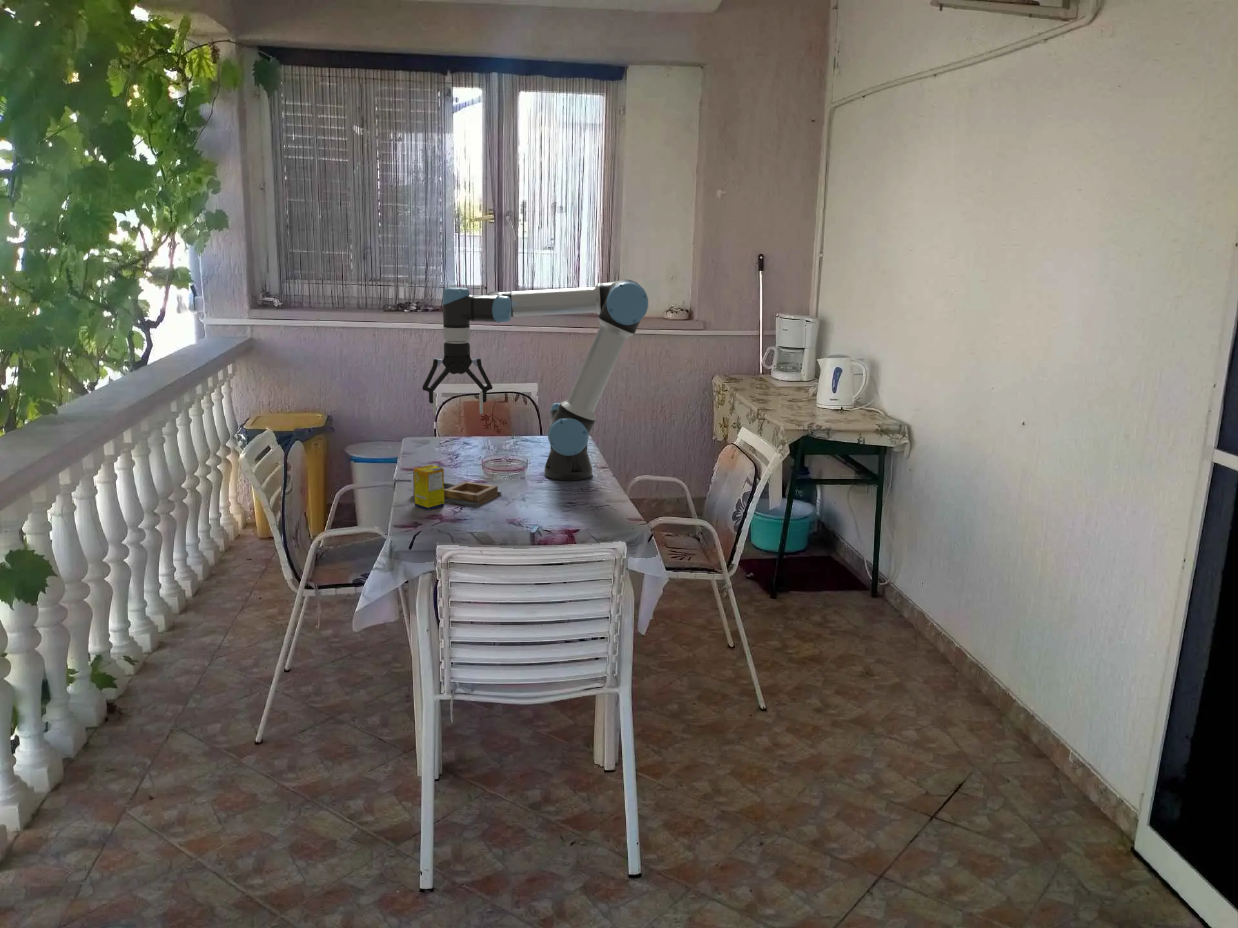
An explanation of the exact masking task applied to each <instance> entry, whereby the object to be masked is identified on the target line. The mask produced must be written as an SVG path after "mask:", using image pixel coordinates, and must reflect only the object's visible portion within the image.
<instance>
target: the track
mask: <svg viewBox="0 0 1238 928" xmlns="http://www.w3.org/2000/svg"><path fill="white" fill-rule="evenodd" d="M430 465H434V466H437V467H441V465H440V464H437V463H431V464H430ZM412 475H413V477H412V479H413V480H412V481H413V482H412V483H413V485H412V486H413V489H414V470H413V471H412ZM455 485H457V484H456V483H450V482H445V481H444V489H448V488H450V487H452V486H455ZM413 495H414V496H415V491H414V490H413ZM500 496H502V491H501V490H498V496H497V497H500ZM444 503H448V504H453V505H455V504H456V505H461V506H467V507H473V508H478V507H479V506H480V505H479V502H474V501H468V500H462V499H455V498H449V497H444Z"/></svg>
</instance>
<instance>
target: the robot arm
mask: <svg viewBox="0 0 1238 928" xmlns="http://www.w3.org/2000/svg"><path fill="white" fill-rule="evenodd" d="M648 308H649V297H648V295H647V292H646V291H645V289H644V288H643V286H641V285H640V284H639V283H638V282H636V281H634V280H631V279H621V280H615V281H612V282H611V281H610V282H601V283H597V284H596V285H595V286H593V287H591V286H589V287H572V288H571V287H570V288H552V289H534V290H533V289H532V290H513V291H512V290H511V291H490V292H489V293H487V294H485V295H481V294H478V295H477V294H476V295H475V294H474V295H473V294H470V290H469V288H467V287H452V286H451V287H445V289H443V292H442V319H443V323H442V324H443V326H442V327H443V329H442V330H443V332H442V334H443V341H444V342H443V359H441V358H437V357H434V358H433V359H432V360H433V361H432V366H431V368H430V370H429V373H428V375H427V376H426V377H425V381H424V382H423V384H422V386H421V387H422V388H421V389H422V391H426V392H428V402H429V404H432V405H433V406H432V410H433V411H432V412H433V415H434V416H437V395H436V389H437V387H438V386H439V385H440V384H441V383H442V381H443V380H444V379H445V378H446V377H447V376H448V375H449V374H452V375H457V374H459V375H463V374H467V375H468V376H469V377H470V378H471V379H472V380H473V382H474V383H475V384H476V385H477V386H478V388H480V390H479V414H480V415H483V414H484V403H486V402H487V400H488V399H487V398H488V397H487V396H488V395H487V392H488V391H490V390H493V388H494V387H493V385H492V383H491V380H489V378H488V376H487V374H486V372H485V369H484V367H483V366H482V360H481V358H480V357H476V358H471V344H470V341H471V333H470V332H471V331H470V330H471V329H470V328H471V327H470V326H471V325H470V324H471V323H470V322H486V323H487V322H488V323H498V324H500V323H508V322H510V321H511V318H513V317H530V316H532V317H533V316H534V317H535V316H550V315H551V316H552V315H555V316H556V315H572V314H573V315H575V314H591V313H595V314H597V315H598V316H597V320H598V322H599V328H598V330H597V332H596V334H595V336H594V339H593V342H592V343H591V345H590V348H589V350H588V352H587V354H586V357H585V359H584V361H583V364H582V366H581V368H580V371H579V372H578V373H579V374H578V376H577V378H576V380H575V381H574V384H573V387H572V389H571V391H570V393H569V396H568V397H567V399H566V400H563V401H561V402H554V403H552V404H551V407H550V412H549V413H550V425H549V429H548V431H547V439H548V442H549V444H550V448H549V449H550V451H549V453H548V456H547V459H546V462H545V465H544V476H545V477H547V478H549V479H553V480H557V481H581V480H587V479H590V478H591V477H592V476H593V467H592V463H591V459H590V457H589V452H588V444H589V437H590V434H591V431H592V430H593V427H594V425H595V423H596V421H597V416H596V414H595V410H596V408H597V407H598V406H597V405H598V403H599V401H600V400H601V397H602V395H603V393H604V389H605V388H606V386H607V384H608V381H609V379H610V376H611V375H612V372H613V370H614V368H615V366H616V364H617V361H618V359H619V356H620V354H621V353H622V350H623V348H624V346H625V343H626V341H627V339H628V338H630V337H632V336H635V335H636V334H635V333H636V332H637V329H638V327H639V326H640V325H639V324H641V321H642V319H644V317H645V316H646V314H647V312H648ZM472 364H474V366H475V367H477V368H478V370H479V372H480V374H481V377H482V378H483V380H484V382H485V384H486V385H484V384H483V383H482V382H481V380H480V379H479V378H478V377H477V376H476V375H475V374H474V373H473V371H472V369H470V367H471V365H472ZM441 365H443V366H444V367H445V368H444V369H443V371H442V372H441V373H440V374H439V376H438V377H437V378H436V379H435V380H434V382H433V383H432V384H431V381H432V379H433V377H434V375H435V374H436V371H437V368H438V367H440V366H441ZM430 384H431V385H430Z"/></svg>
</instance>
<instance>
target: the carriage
mask: <svg viewBox="0 0 1238 928" xmlns="http://www.w3.org/2000/svg"><path fill="white" fill-rule="evenodd" d="M498 488H499V487H498V485H493V484H487V483H481V482H474V481H473V482H472V481H467V480H466V481H465V480H464V481H461V482H459V483H458V484H457V485H455V486H452V487H450V488H444V497H449V498H455V499H462V500H468V501H474V502H479V506H480V505H482V504H485V503H486V502H488V501H491V500H492V499H494V498H496V497H499V496H498V491H499V489H498Z"/></svg>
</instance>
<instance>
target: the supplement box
mask: <svg viewBox="0 0 1238 928" xmlns="http://www.w3.org/2000/svg"><path fill="white" fill-rule="evenodd" d="M413 471H414V488H413V492H414V491H415V495H414V507H417V508H420V509H423V510H426V511H430V510H434V509H438V508H441V507H444V506H445V502H444V490H445V487H444V482H445V474H444V473H445V472H444V471H445V470H444V468H443V467H441V466H440V467H437V466H434V465H431V464H427V465H424V466H423V465H422V466H418V467H413Z"/></svg>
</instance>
